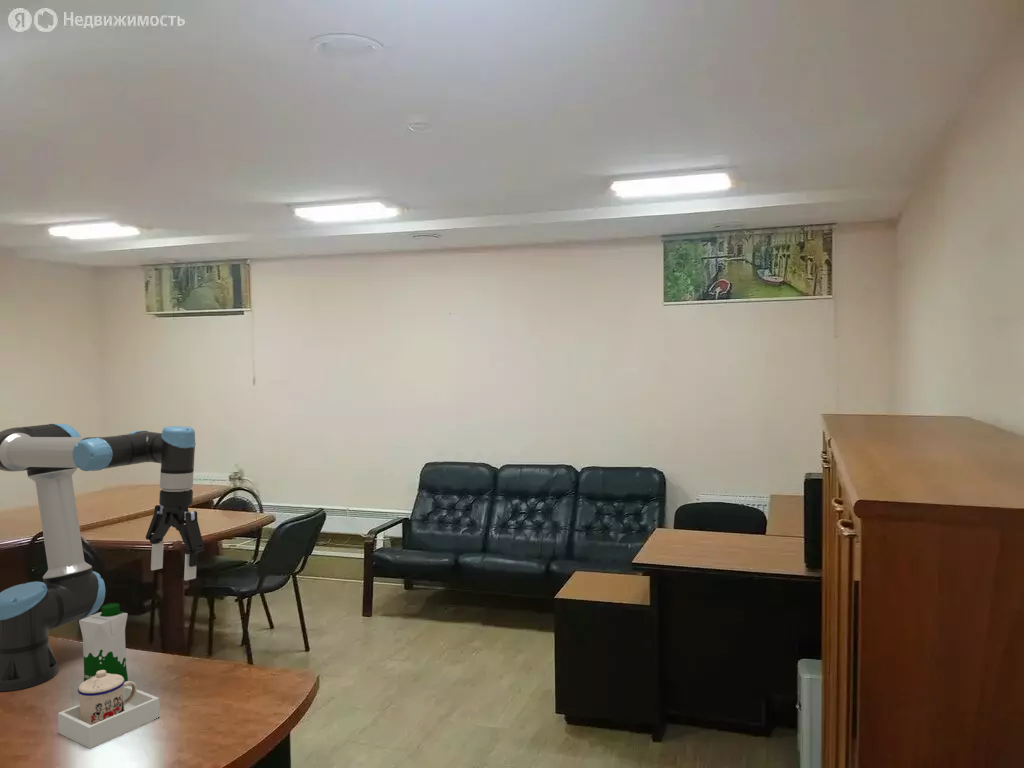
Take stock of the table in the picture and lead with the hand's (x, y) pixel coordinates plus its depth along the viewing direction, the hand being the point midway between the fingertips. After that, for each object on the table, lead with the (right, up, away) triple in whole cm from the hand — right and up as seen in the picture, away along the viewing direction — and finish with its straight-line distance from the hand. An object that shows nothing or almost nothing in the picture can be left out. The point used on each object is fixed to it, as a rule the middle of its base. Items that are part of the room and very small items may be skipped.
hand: (173, 574), depth 183 cm
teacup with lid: (-6, -28, -19) cm, 34 cm away
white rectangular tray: (-5, -29, -19) cm, 35 cm away
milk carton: (-17, -29, 0) cm, 33 cm away
